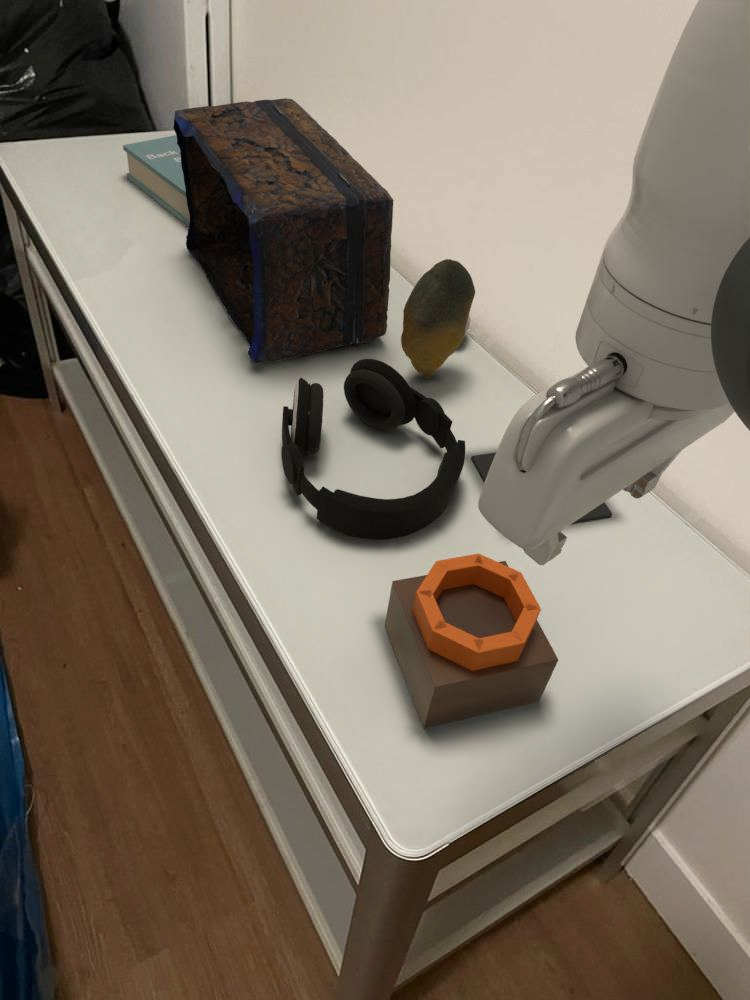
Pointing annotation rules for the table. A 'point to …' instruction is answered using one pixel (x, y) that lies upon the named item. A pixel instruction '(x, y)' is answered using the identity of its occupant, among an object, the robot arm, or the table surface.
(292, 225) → the decorative box
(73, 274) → the table surface
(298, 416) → the headphones
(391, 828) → the table surface
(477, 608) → the block
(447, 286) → the decorative stone
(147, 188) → the book
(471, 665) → the ring
